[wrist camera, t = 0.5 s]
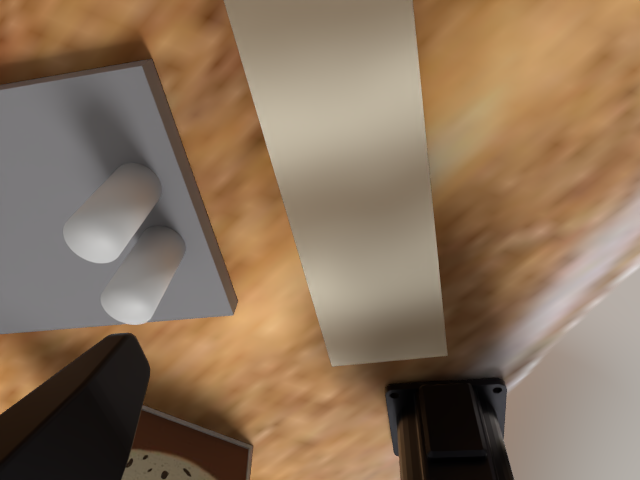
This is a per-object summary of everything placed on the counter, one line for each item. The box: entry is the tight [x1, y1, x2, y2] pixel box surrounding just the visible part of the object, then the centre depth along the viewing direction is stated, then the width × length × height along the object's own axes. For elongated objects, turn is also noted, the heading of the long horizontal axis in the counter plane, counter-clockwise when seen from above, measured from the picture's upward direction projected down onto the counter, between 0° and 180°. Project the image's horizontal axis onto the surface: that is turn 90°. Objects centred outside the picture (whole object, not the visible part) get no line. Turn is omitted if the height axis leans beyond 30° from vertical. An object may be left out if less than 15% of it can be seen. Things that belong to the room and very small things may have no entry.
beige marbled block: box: [224, 0, 448, 367], centre depth 18 cm, size 16×5×4 cm, turn 12°
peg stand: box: [0, 59, 238, 334], centre depth 20 cm, size 12×16×5 cm
